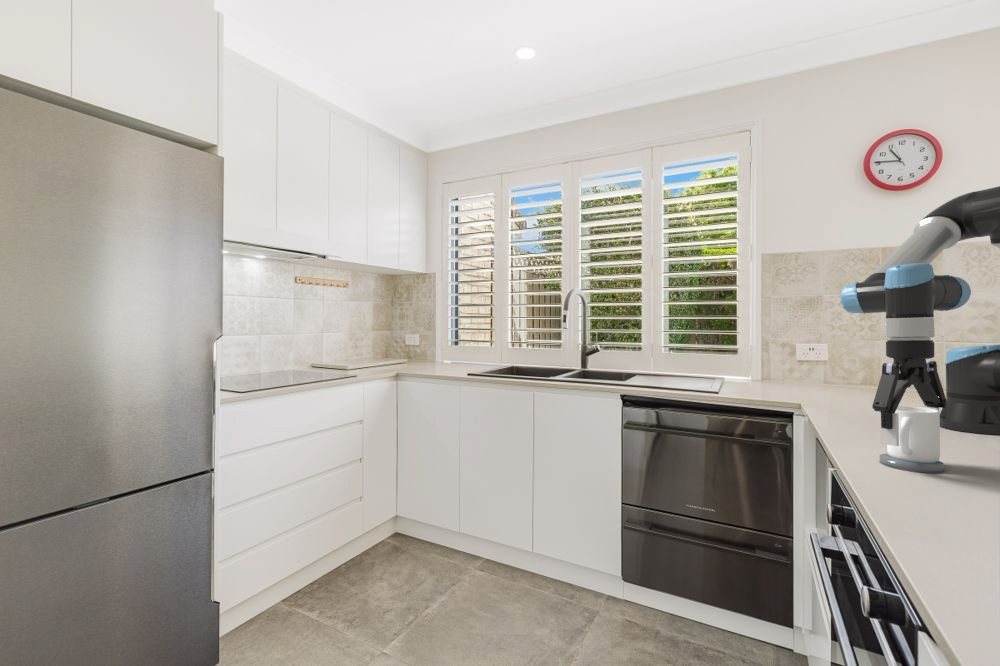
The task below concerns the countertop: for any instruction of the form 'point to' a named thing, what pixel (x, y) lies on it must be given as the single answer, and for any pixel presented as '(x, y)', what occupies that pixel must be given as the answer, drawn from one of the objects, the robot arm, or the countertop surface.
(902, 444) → the mug
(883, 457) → the slate plate
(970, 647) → the countertop surface
